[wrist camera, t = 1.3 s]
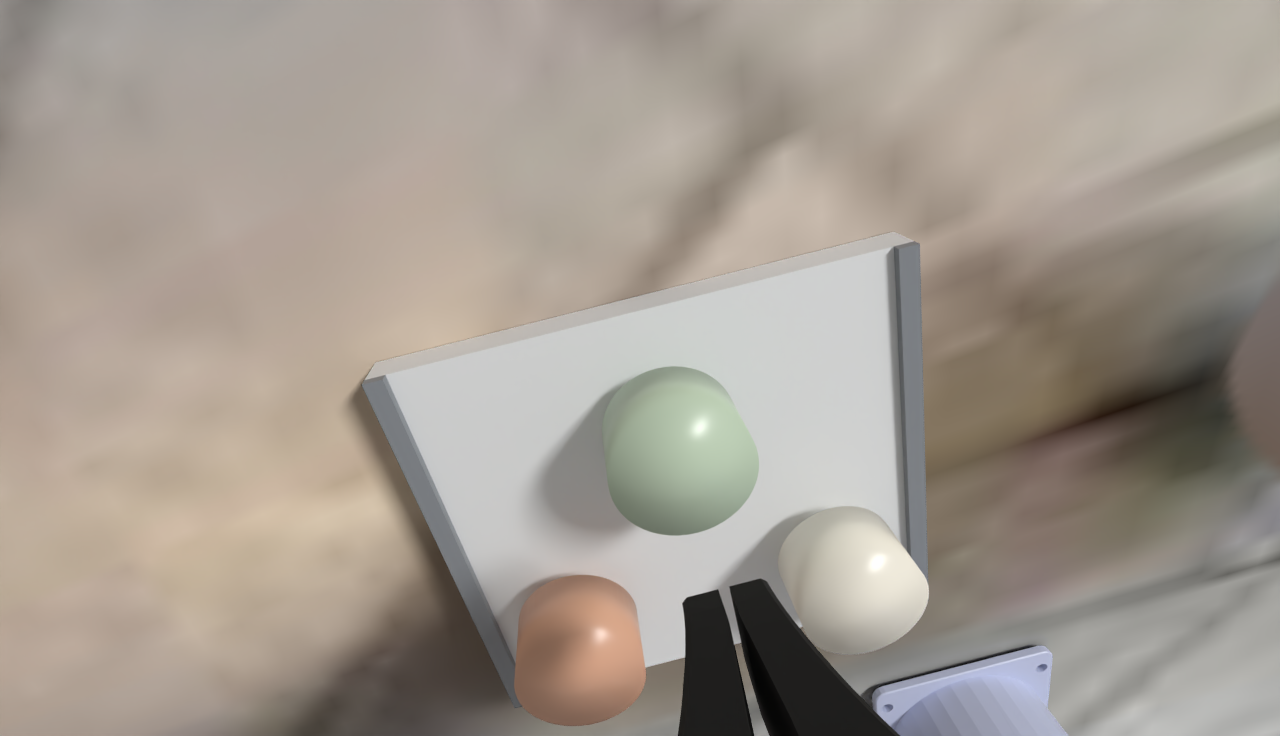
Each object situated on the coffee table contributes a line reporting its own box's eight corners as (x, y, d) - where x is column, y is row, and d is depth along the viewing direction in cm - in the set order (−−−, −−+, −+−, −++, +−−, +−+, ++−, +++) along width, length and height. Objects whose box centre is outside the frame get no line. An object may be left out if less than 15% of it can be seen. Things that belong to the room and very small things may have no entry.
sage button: (745, 465, 20) (768, 514, 17) (619, 498, 20) (626, 551, 17) (724, 351, 18) (747, 389, 16) (586, 386, 18) (590, 430, 16)
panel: (908, 572, 25) (928, 600, 24) (517, 673, 25) (514, 708, 24) (893, 231, 19) (919, 243, 18) (375, 362, 19) (361, 385, 18)
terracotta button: (648, 645, 22) (657, 707, 20) (538, 674, 22) (535, 738, 20) (622, 561, 21) (629, 619, 18) (502, 592, 21) (496, 653, 18)
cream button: (894, 582, 22) (929, 636, 20) (784, 610, 22) (809, 667, 20) (889, 493, 21) (927, 542, 19) (770, 523, 21) (795, 576, 19)
